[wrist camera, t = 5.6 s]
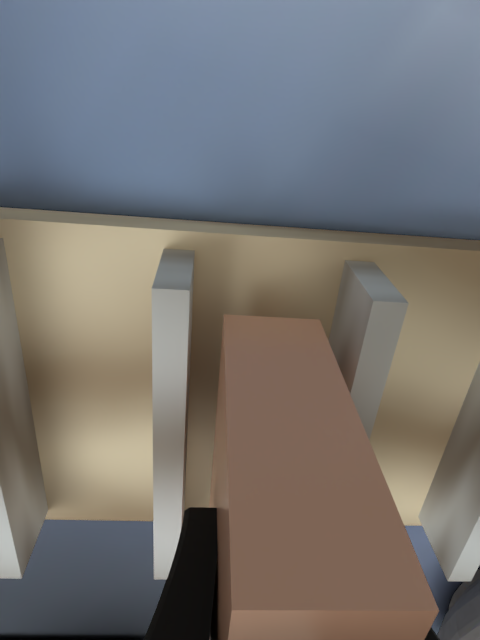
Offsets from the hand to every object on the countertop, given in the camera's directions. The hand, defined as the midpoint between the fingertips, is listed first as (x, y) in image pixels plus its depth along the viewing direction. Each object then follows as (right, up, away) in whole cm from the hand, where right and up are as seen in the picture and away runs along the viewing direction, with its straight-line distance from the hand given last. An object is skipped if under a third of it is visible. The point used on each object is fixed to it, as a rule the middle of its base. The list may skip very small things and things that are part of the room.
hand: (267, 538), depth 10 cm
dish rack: (0, +3, +5) cm, 6 cm away
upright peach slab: (0, +1, +3) cm, 3 cm away
